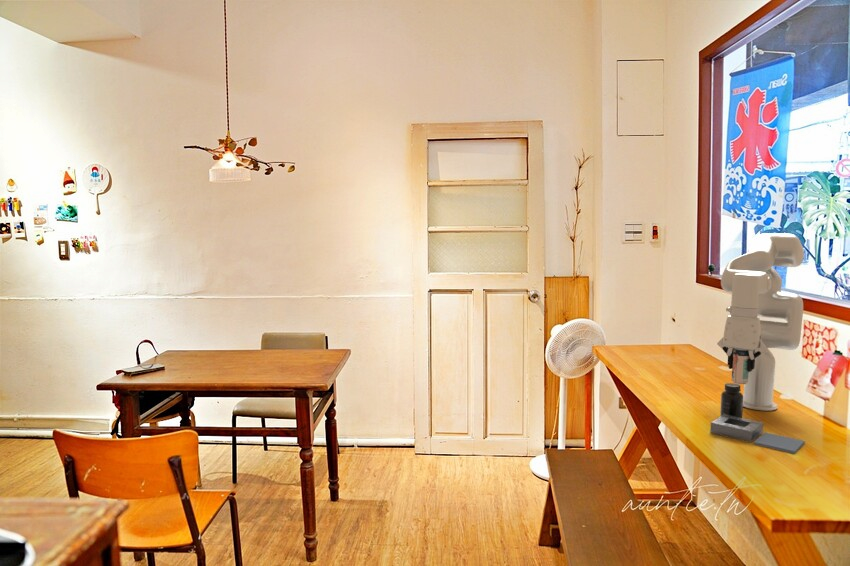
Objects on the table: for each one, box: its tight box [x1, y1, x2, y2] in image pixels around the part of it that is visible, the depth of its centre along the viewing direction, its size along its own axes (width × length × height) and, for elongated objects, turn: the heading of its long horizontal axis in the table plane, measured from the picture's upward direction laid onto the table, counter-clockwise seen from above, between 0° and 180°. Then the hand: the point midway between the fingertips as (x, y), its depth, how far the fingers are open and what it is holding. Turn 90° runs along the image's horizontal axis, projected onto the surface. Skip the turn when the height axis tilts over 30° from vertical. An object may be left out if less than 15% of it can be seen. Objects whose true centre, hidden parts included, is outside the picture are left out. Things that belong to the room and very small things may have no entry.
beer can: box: [731, 348, 750, 385], centre depth 197 cm, size 5×5×12 cm
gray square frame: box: [709, 414, 764, 443], centre depth 199 cm, size 12×12×4 cm
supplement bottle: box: [719, 382, 744, 418], centre depth 213 cm, size 7×7×12 cm
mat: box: [753, 432, 806, 455], centre depth 190 cm, size 12×11×1 cm
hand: (740, 368), depth 197 cm, fingers closed on beer can, 4 cm apart
